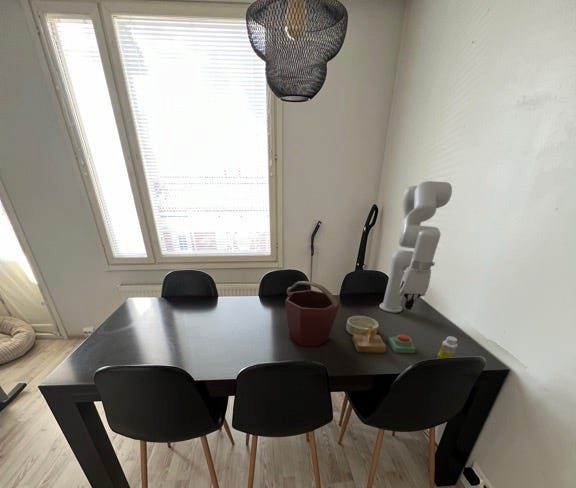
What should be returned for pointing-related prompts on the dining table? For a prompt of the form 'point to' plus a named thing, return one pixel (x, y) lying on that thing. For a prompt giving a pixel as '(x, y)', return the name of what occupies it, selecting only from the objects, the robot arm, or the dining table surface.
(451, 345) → the supplement bottle
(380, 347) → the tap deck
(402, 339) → the button
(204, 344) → the dining table surface
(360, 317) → the basin
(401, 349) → the button block
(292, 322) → the bucket
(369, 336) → the tap lever
